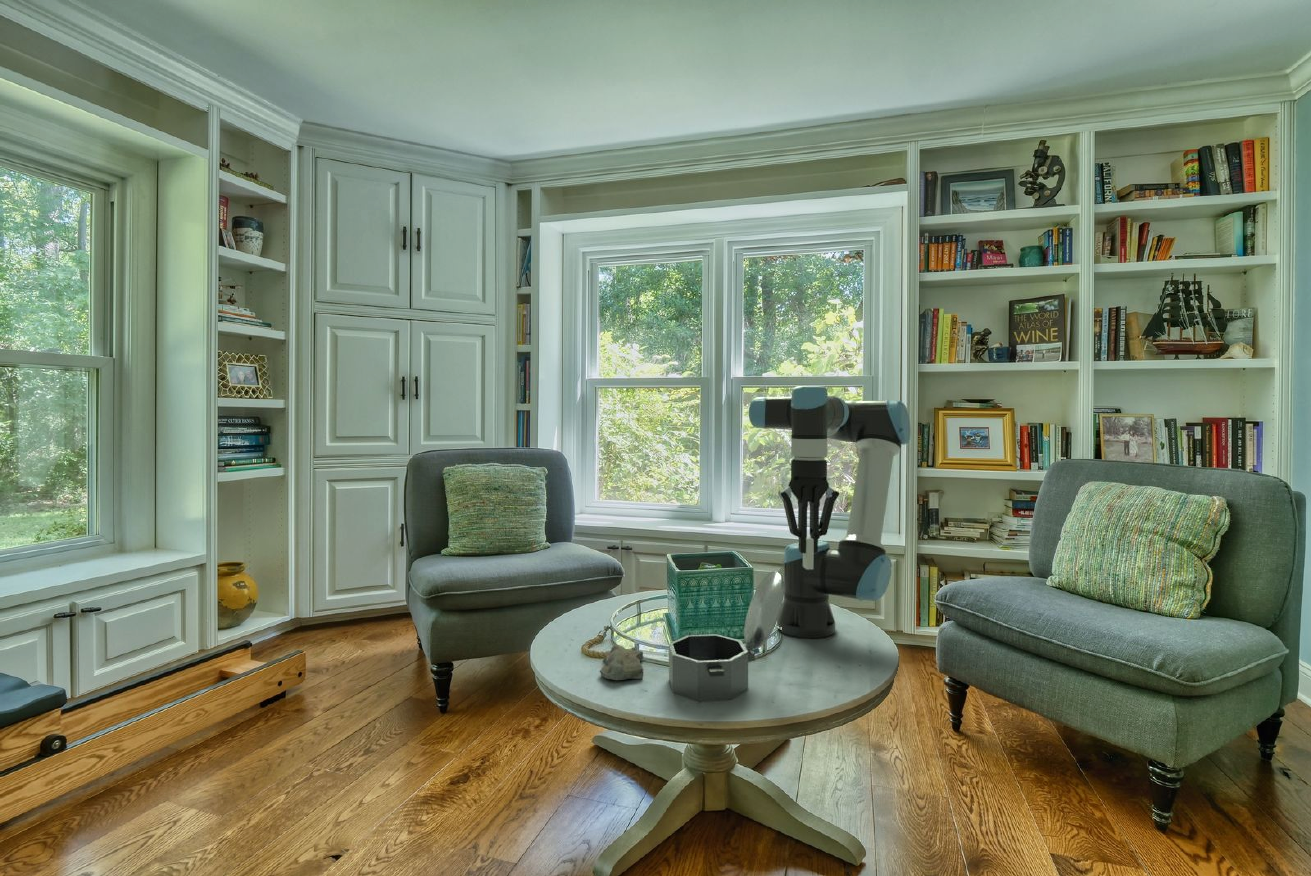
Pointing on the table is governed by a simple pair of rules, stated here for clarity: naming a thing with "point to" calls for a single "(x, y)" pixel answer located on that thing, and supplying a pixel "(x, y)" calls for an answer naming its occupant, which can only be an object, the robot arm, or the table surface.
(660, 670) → the table surface
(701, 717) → the table surface
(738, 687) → the pot
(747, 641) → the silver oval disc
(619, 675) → the stone
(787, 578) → the robot arm
